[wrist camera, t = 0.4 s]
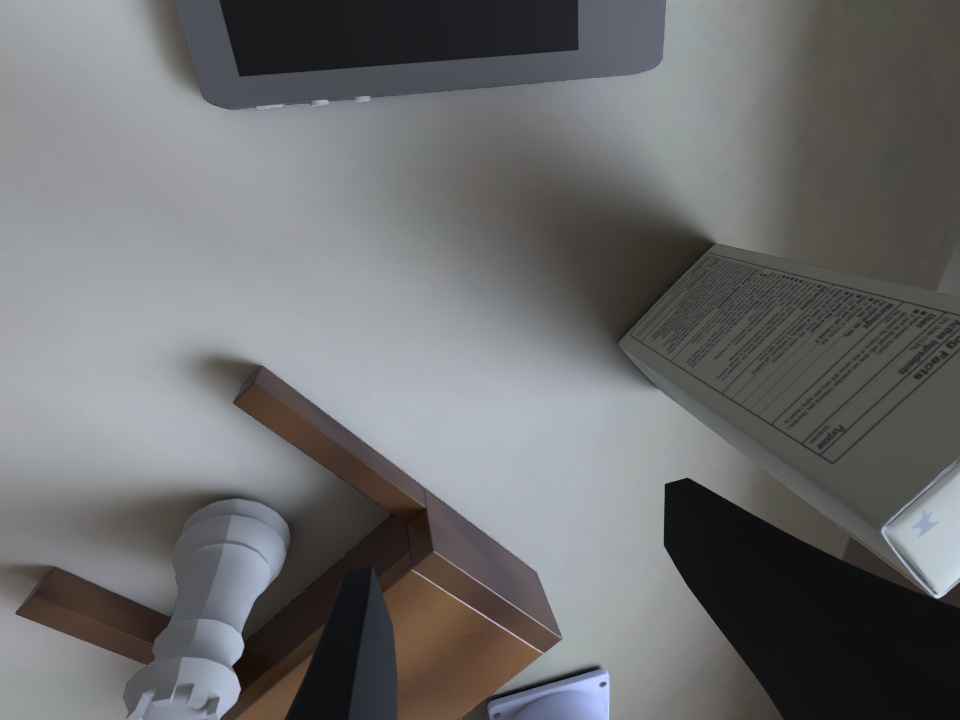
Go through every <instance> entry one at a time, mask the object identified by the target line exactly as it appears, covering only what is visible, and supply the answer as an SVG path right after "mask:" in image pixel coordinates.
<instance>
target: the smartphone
mask: <svg viewBox="0 0 960 720" xmlns="http://www.w3.org/2000/svg"><path fill="white" fill-rule="evenodd" d="M174 3H175V6H176V10H177V13H178V17H179V20H180V23H181V27H182V30H183V33H184V37H185V40H186V43H187V47H188V50H189V53H190V57H191V60H192V63H193V67H194V70H195V73H196V77H197V80H198V84H199V87H200V90H201V94H202V96H203V98H204V99H205V100H206V101H207V102H209V103H210V104H212V105H215V106H218V107H221V108H225V109H233V110H236V109H248V108H256V109H257V110H262V109H274V108H284V105H294V104H305V103H311V106H324V105H329V103H328V101H339V100H350V99H353V100H354V102H368V101H371V98H373V97H384V96H395V95H407V94H418V93H429V92H441V91H452V90H463V89H474V88H486V87H497V86H508V85H520V84H531V83H542V82H554V81H565V80H576V79H587V78H599V77H610V76H621V75H633V74H638V73H641V72H645V71H648V70H651V69H653V68H655V67H656V66H657V65H659V63H660V62H661V61H662V58H663V43H664V25H665V7H666V0H174Z"/></svg>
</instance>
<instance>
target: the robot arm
mask: <svg viewBox="0 0 960 720" xmlns="http://www.w3.org/2000/svg"><path fill="white" fill-rule="evenodd" d="M664 547H665V548H666V550H667V552H668V554H669V555H670V557H671V559H672V561H673V562H674V564H675V566H676V568H677V569H678V571H679V573H680V574H681V576H682V578H683V579H684V581H685V583H686V584H687V586H688V587H689V588H690V590H691V591H692V592H693V594H694V595H695V597H696V598H697V599H698V601H699V602H700V603H701V605H702V606H703V607H704V609H705V610H706V611H707V613H708V614H709V615H710V617H711V618H712V619H713V621H714V622H715V623H716V625H717V626H718V627H719V629H720V630H721V631H722V633H723V634H724V635H725V637H726V638H727V639H728V641H729V642H730V643H731V645H732V646H733V647H734V648H735V650H736V651H737V652H738V654H739V655H740V656H741V658H742V659H743V660H744V662H745V663H746V664H747V666H748V667H749V668H750V670H751V671H752V672H753V674H754V675H755V677H756V678H757V679H758V681H759V682H760V684H761V685H762V686H763V688H764V689H765V691H766V692H767V694H768V695H769V697H770V698H771V700H772V701H773V703H774V704H775V706H776V708H777V709H778V711H779V712H780V714H781V716H782V717H783V719H784V720H960V608H958V607H955V606H952V605H950V604H947V603H944V602H942V601H939V600H936V599H934V598H931V597H928V596H925V595H923V594H920V593H917V592H915V591H913V590H910V589H907V588H905V587H902V586H900V585H897V584H895V583H892V582H890V581H888V580H886V579H883V578H881V577H879V576H876V575H874V574H872V573H869V572H867V571H865V570H862V569H860V568H857V567H855V566H853V565H851V564H849V563H847V562H844V561H842V560H840V559H838V558H836V557H834V556H832V555H830V554H828V553H826V552H824V551H822V550H819V549H817V548H815V547H813V546H811V545H809V544H807V543H805V542H803V541H801V540H799V539H797V538H795V537H794V536H792V535H790V534H788V533H786V532H784V531H782V530H780V529H778V528H776V527H775V526H773V525H771V524H769V523H767V522H765V521H764V520H762V519H760V518H758V517H756V516H755V515H753V514H751V513H749V512H747V511H746V510H744V509H742V508H740V507H739V506H737V505H735V504H733V503H732V502H730V501H728V500H726V499H725V498H723V497H721V496H719V495H718V494H716V493H714V492H712V491H711V490H709V489H707V488H705V487H704V486H702V485H700V484H698V483H697V482H695V481H693V480H691V479H689V478H685V479H681V480H678V481H674V482H670V483H667V484H665V507H664ZM487 709H488V715H489V720H609V674H608V672H607V670H606V669H598V670H595V671H591V672H588V673H585V674H581V675H578V676H574V677H571V678H567V679H564V680H561V681H557V682H554V683H550V684H547V685H543V686H540V687H536V688H533V689H530V690H526V691H523V692H519V693H516V694H512V695H509V696H506V697H502V698H499V699H495V700H493V701H491V702H489V704H488V705H487ZM284 720H397V663H396V651H395V641H394V631H393V624H392V621H391V618H390V615H389V612H388V609H387V606H386V603H385V600H384V597H383V594H382V592H381V589H380V586H379V583H378V580H377V577H376V574H375V571H374V568H373V565H369V566H365V567H361V568H358V569H354V570H351V571H347V572H345V573H344V574H343V576H342V577H341V581H340V584H339V587H338V590H337V593H336V596H335V599H334V602H333V605H332V608H331V610H330V613H329V616H328V619H327V621H326V624H325V627H324V629H323V632H322V634H321V637H320V639H319V642H318V644H317V647H316V649H315V652H314V654H313V656H312V659H311V661H310V664H309V666H308V669H307V671H306V673H305V676H304V678H303V680H302V682H301V685H300V687H299V689H298V691H297V693H296V695H295V697H294V700H293V702H292V704H291V706H290V708H289V710H288V713H287V715H286V717H285V719H284Z"/></svg>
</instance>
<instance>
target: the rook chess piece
mask: <svg viewBox="0 0 960 720" xmlns="http://www.w3.org/2000/svg"><path fill="white" fill-rule="evenodd" d="M290 543H291V537H290V532H289V527H288V525H287V524H286V522H285V521H284V520H283V519H282V517H281V516H280V515H279V514H278V513H277V512H276V511H275V510H274V509H273V508H271V507H269V506H267V505H265V504H263V503H261V502H259V501H256V500H250V499H244V498H235V499H227V500H220V501H216V502H214V503H211V504H209V505H207V506H205V507H203V508H201V509H199V510H197V511H195V512H194V513H193V514H192V516H191V517H190V518H189V519H188V520H187V521H186V522H185V523H184V524H183V527H182V531H181V535H180V538H179V539H178V540H177V544H176V548H175V552H174V556H173V566H174V568H175V571H176V577H175V578H176V581H177V584H178V587H179V591H178V597H177V601H176V605H175V608H174V612H173V615H172V618H171V620H170V622H169V625H168V627H167V628H166V629H164V630H163V631H162V632H161V633H160V635H159V636H158V637H157V638H156V639H155V641H154V645H153V649H152V652H153V654H154V657H155V660H154V661H153V662H151V663H150V664H148V665H147V666H145V667H144V668H142V669H141V670H139V671H138V672H137V673H136V674H135V675H134V676H133V677H132V678H131V679H130V680H129V681H128V682H127V683H126V688H125V692H124V696H123V698H124V701H125V703H126V706H127V708H128V711H129V713H128V715H127V717H126V720H220V718H221V716H223V715H224V714H225V713H226V712H227V711H228V710H229V709H230V708H231V707H232V706H233V705H234V704H235V703H236V702H237V699H238V696H239V693H240V690H241V687H240V684H239V681H238V678H237V675H236V673H235V672H234V670H233V668H232V665H233V664H234V663H235V662H236V661H237V660H238V659H239V658H240V657H241V655H242V652H243V649H244V643H243V639H242V636H241V634H242V630H243V626H244V624H245V622H246V619H247V617H248V615H249V613H250V610H251V608H252V606H253V603H254V601H255V600H256V598H257V597H258V596H259V595H260V594H261V593H262V592H263V591H264V590H265V589H266V588H267V586H268V585H269V584H270V583H271V582H272V581H273V580H274V579H275V578H276V577H277V576H278V575H279V573H280V571H281V570H282V567H283V564H284V561H285V558H286V554H287V551H288V548H289V546H290Z"/></svg>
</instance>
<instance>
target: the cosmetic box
mask: <svg viewBox="0 0 960 720" xmlns="http://www.w3.org/2000/svg"><path fill="white" fill-rule="evenodd" d="M618 345H619V347H620V348H621V349H622V350H623V352H624V353H625V354H626V355H627V356H628V357H629V358H630V359H631V360H632V362H633V363H634V364H635V365H636V366H637V367H638V368H639V369H640V370H641V371H642V372H643V373H644V374H645V376H647V377H648V378H649V380H650V381H652V382H653V383H654V384H655V385H656V386H657V387H658V388H659V389H660V390H661V391H662V392H663V393H664V394H666V395H667V396H668V397H669V398H671V399H672V400H673V401H675V402H676V403H677V404H679V405H680V406H681V407H683V408H684V409H685V410H687V411H688V412H689V413H691V414H692V415H693V416H694V417H696V418H697V419H698V420H700V421H701V422H702V423H703V424H705V425H706V426H707V427H709V428H710V429H711V430H713V431H714V432H715V433H717V434H718V435H719V436H721V437H722V438H723V439H725V440H726V441H727V442H729V443H730V444H731V445H732V446H734V447H735V448H736V449H738V450H739V451H740V452H742V453H743V454H744V455H746V456H747V457H748V458H750V459H751V460H752V461H753V462H755V463H756V464H757V465H759V466H760V467H761V468H763V469H764V470H765V471H766V472H768V473H769V474H770V475H772V476H773V477H774V478H776V479H777V480H778V481H779V482H781V483H782V484H783V485H785V486H786V487H787V488H789V489H790V490H791V491H793V492H794V493H795V494H797V495H798V496H799V497H801V498H802V499H803V500H805V501H806V502H807V503H809V504H810V505H811V506H812V507H814V508H815V509H816V510H818V511H819V512H820V513H822V514H823V515H824V516H826V517H827V518H828V519H830V520H831V521H832V522H833V523H835V524H836V525H837V526H839V527H840V528H841V529H843V530H844V531H845V532H847V533H848V534H849V535H851V536H852V537H853V538H855V539H856V540H858V541H859V542H860V543H861V544H863V545H864V546H865V547H867V548H868V549H869V550H871V551H872V552H873V553H875V554H876V555H877V556H879V557H880V558H881V559H883V560H884V561H885V562H887V563H888V564H889V565H890V566H892V567H893V568H894V569H896V570H897V571H899V572H900V573H901V574H902V575H904V576H905V577H906V578H908V579H909V580H910V581H912V582H913V583H914V584H916V585H917V586H918V587H920V588H921V589H922V590H924V591H925V592H927V593H928V594H929V595H931V596H932V597H934V598H940V597H942V596H943V595H945V594H946V593H947V592H948V591H949V590H950V589H952V588H953V587H954V586H955V585H956V584H958V583H959V582H960V297H957V296H953V295H948V294H944V293H939V292H935V291H930V290H926V289H921V288H917V287H912V286H908V285H903V284H899V283H894V282H890V281H885V280H880V279H876V278H871V277H867V276H863V275H858V274H853V273H849V272H844V271H839V270H835V269H830V268H825V267H820V266H816V265H812V264H807V263H803V262H798V261H794V260H789V259H785V258H781V257H777V256H772V255H767V254H762V253H757V252H753V251H748V250H744V249H740V248H735V247H731V246H727V245H722V244H715V245H713V246H712V247H711V248H710V249H709V250H708V251H707V252H706V253H705V254H704V255H703V256H702V257H701V258H700V259H699V260H698V261H697V262H696V263H695V264H694V265H693V266H691V267H690V268H689V269H688V270H687V271H686V272H685V273H684V274H683V275H682V276H681V278H680V279H679V280H678V281H677V282H676V283H675V284H674V285H673V286H672V287H671V288H670V289H669V290H668V291H667V292H666V293H665V294H664V295H663V296H662V297H661V298H660V299H659V300H658V301H657V302H656V303H655V304H654V305H653V306H652V307H651V308H650V309H649V310H648V311H647V312H646V314H645V315H644V316H643V317H642V318H641V319H640V320H639V321H638V322H637V323H636V324H635V325H634V326H633V327H632V328H631V329H630V330H629V332H628V333H627V334H626V335H625V336H624V337H623V338H622V339H621V340H620V341H619V343H618Z"/></svg>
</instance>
